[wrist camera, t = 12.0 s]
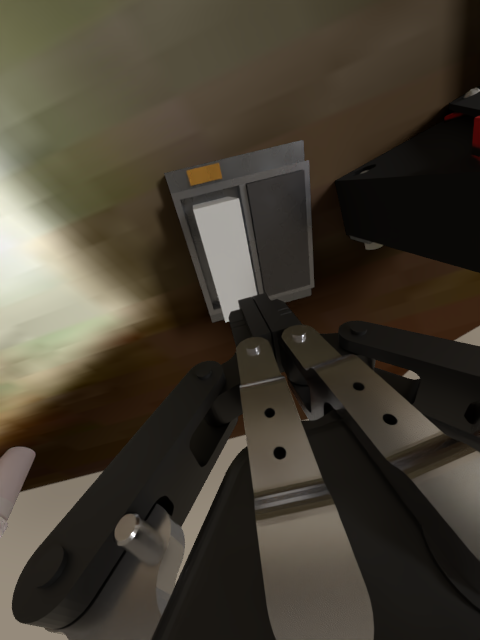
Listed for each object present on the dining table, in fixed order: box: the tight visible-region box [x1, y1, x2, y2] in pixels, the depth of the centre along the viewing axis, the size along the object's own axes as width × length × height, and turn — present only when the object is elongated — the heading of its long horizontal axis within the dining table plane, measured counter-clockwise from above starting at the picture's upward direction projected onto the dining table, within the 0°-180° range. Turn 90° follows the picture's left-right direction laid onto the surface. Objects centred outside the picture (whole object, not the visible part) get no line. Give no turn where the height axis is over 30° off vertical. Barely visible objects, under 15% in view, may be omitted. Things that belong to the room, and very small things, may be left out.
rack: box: [164, 140, 314, 323], centre depth 25 cm, size 16×13×3 cm
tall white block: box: [193, 196, 257, 322], centre depth 22 cm, size 10×4×6 cm, turn 12°
